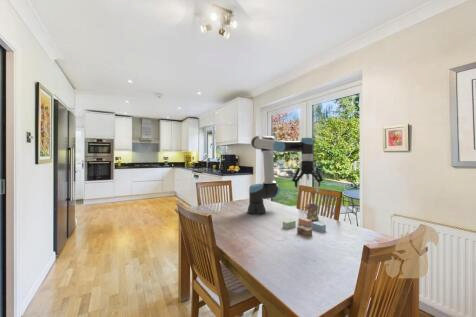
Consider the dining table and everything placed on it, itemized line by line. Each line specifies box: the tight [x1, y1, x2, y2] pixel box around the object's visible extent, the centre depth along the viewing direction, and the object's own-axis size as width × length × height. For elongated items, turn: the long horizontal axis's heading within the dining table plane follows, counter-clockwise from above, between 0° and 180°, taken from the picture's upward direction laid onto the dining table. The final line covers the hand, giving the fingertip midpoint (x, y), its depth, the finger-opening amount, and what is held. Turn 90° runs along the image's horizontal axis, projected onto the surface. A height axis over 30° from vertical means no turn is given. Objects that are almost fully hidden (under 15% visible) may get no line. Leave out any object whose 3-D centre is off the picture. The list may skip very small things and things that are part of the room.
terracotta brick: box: [298, 217, 313, 228], centre depth 150 cm, size 8×4×4 cm, turn 31°
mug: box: [302, 203, 320, 221], centre depth 161 cm, size 12×9×11 cm
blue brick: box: [310, 221, 327, 233], centre depth 140 cm, size 8×4×4 cm, turn 32°
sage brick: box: [282, 219, 297, 230], centre depth 146 cm, size 8×4×4 cm, turn 122°
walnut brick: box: [296, 225, 313, 238], centre depth 132 cm, size 8×4×4 cm, turn 31°
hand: (307, 191), depth 147 cm, fingers open, 13 cm apart
